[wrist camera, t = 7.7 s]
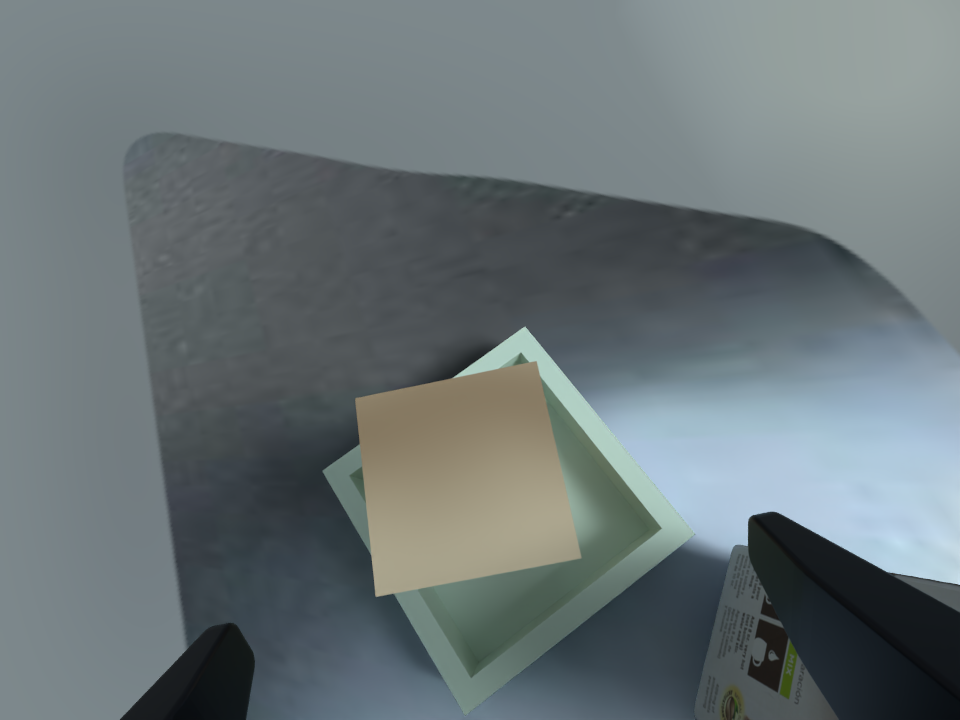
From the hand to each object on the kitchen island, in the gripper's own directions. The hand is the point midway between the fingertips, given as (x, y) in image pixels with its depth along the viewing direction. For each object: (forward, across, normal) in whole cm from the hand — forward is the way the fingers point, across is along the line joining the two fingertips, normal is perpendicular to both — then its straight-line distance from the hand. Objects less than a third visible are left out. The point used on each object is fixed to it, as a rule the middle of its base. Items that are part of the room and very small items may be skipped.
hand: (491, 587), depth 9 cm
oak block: (+11, 0, +8) cm, 13 cm away
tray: (+11, 0, +8) cm, 14 cm away
